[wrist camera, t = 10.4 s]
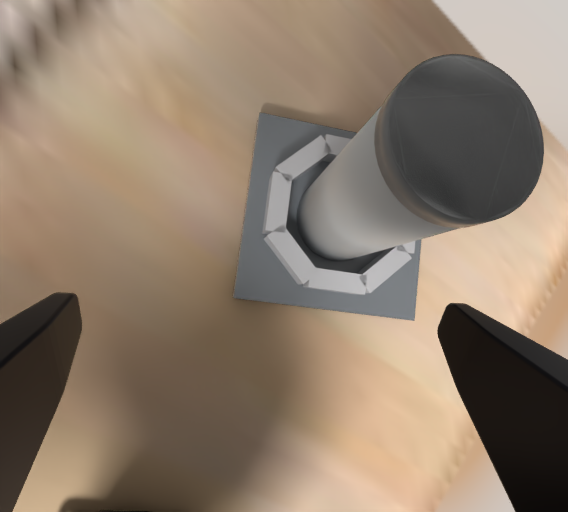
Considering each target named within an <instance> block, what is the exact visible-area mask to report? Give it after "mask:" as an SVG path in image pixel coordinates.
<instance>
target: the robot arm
mask: <svg viewBox="0 0 568 512" xmlns="http://www.w3.org/2000/svg"><path fill="white" fill-rule="evenodd" d="M81 331H82V319H81V313H80V308H79V302H78V297H77V295H76V294H74V293H60V292H58V293H54V294H52V295H50V296H48V297H47V298H45V299H43V300H41V301H40V302H38V303H36V304H34V305H33V306H31V307H29V308H28V309H26V310H24V311H22V312H21V313H19V314H17V315H15V316H14V317H12V318H10V319H8V320H7V321H5V322H3V323H1V324H0V512H12V511H13V509H14V507H15V504H16V502H17V500H18V497H19V495H20V493H21V490H22V488H23V486H24V483H25V481H26V479H27V476H28V474H29V472H30V469H31V467H32V465H33V462H34V460H35V458H36V455H37V453H38V451H39V449H40V446H41V444H42V442H43V439H44V437H45V435H46V432H47V430H48V428H49V425H50V423H51V421H52V418H53V416H54V414H55V411H56V409H57V407H58V404H59V402H60V400H61V397H62V395H63V392H64V389H65V386H66V382H67V379H68V376H69V372H70V369H71V365H72V362H73V359H74V355H75V352H76V348H77V345H78V342H79V338H80V335H81ZM438 338H439V341H440V344H441V346H442V349H443V352H444V355H445V358H446V360H447V363H448V366H449V369H450V372H451V374H452V377H453V380H454V382H455V385H456V388H457V390H458V392H459V394H460V397H461V399H462V401H463V403H464V405H465V407H466V409H467V411H468V413H469V415H470V418H471V420H472V422H473V424H474V426H475V428H476V430H477V432H478V434H479V436H480V439H481V441H482V443H483V445H484V447H485V449H486V451H487V453H488V455H489V457H490V459H491V462H492V463H493V466H494V468H495V470H496V472H497V474H498V476H499V478H500V480H501V482H502V484H503V487H504V489H505V491H506V493H507V495H508V497H509V499H510V501H511V503H512V505H513V508H514V510H515V512H568V360H567V359H566V358H564V357H562V356H560V355H558V354H556V353H555V352H553V351H551V350H549V349H547V348H545V347H544V346H542V345H540V344H538V343H536V342H535V341H533V340H531V339H529V338H527V337H525V336H524V335H522V334H520V333H518V332H516V331H514V330H513V329H511V328H509V327H507V326H505V325H504V324H502V323H500V322H498V321H496V320H494V319H493V318H491V317H489V316H487V315H485V314H483V313H482V312H480V311H478V310H476V309H474V308H472V307H471V306H469V305H467V304H464V303H450V304H448V305H447V307H446V309H445V311H444V314H443V316H442V319H441V321H440V324H439V326H438ZM98 512H147V511H114V510H100V511H98Z"/></svg>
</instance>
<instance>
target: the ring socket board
mask: <svg viewBox="0 0 568 512" xmlns="http://www.w3.org/2000/svg"><path fill="white" fill-rule="evenodd" d="M356 134H357V133H355V132H351V131H346V130H341V129H336V128H331V127H327V126H322V125H317V124H312V123H308V122H303V121H298V120H293V119H289V118H284V117H279V116H274V115H270V114H265V113H259V117H258V121H257V128H256V136H255V143H254V150H253V157H252V164H251V171H250V178H249V186H248V193H247V200H246V207H245V214H244V221H243V228H242V235H241V243H240V250H239V257H238V264H237V271H236V278H235V285H234V293H233V298H238V299H246V300H254V301H262V302H269V303H277V304H285V305H293V306H301V307H309V308H317V309H325V310H333V311H341V312H349V313H357V314H365V315H373V316H381V317H389V318H397V319H405V320H413V321H414V319H415V307H416V295H417V284H418V272H419V260H420V248H421V239H420V240H416V241H413V242H409V243H406V244H402V245H399V246H395V247H392V248H388V249H385V250H381V251H378V252H374V253H371V254H367V255H364V256H360V257H357V258H353V259H350V260H345V261H333V260H328V259H326V258H323V257H321V256H319V255H317V254H316V253H314V252H313V251H312V250H311V249H310V248H309V247H308V246H307V245H306V244H305V242H304V241H303V239H302V237H301V235H300V233H299V230H298V226H297V219H296V216H297V208H298V204H299V201H300V199H301V197H302V196H303V194H304V193H305V191H306V190H307V189H308V188H309V187H310V186H311V185H312V184H313V182H314V181H315V180H316V179H317V178H318V177H319V176H320V175H321V173H322V172H323V171H324V170H325V169H326V168H327V167H328V165H329V164H330V163H331V162H332V161H333V160H334V159H335V158H336V156H337V155H338V154H339V153H340V152H341V151H342V150H343V149H344V147H345V146H346V145H347V144H348V143H349V142H350V141H351V140H352V138H353V137H354V136H355V135H356Z"/></svg>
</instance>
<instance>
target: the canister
mask: <svg viewBox="0 0 568 512" xmlns="http://www.w3.org/2000/svg"><path fill="white" fill-rule="evenodd" d="M543 155H544V144H543V136H542V130H541V126H540V122H539V119H538V117H537V114H536V111H535V109H534V107H533V105H532V104H531V102H530V100H529V98H528V97H527V95H526V94H525V92H524V91H523V90H522V89H521V88H520V86H519V85H518V84H517V83H516V82H515V81H514V80H513V79H512V78H511V77H510V76H509V75H508V74H506V73H505V72H504V71H502V70H501V69H500V68H498V67H496V66H495V65H493V64H491V63H489V62H487V61H485V60H482V59H479V58H476V57H473V56H468V55H459V54H450V55H442V56H438V57H433V58H431V59H429V60H426V61H424V62H422V63H421V64H419V65H417V66H416V67H415V68H413V69H412V70H411V71H410V72H409V73H408V74H407V75H406V76H405V77H404V78H403V79H402V81H401V82H400V83H399V84H398V85H397V86H396V87H395V88H394V90H393V91H392V92H391V93H390V94H389V95H388V97H387V98H386V100H385V101H384V103H383V105H382V106H381V107H380V108H379V109H378V110H377V111H376V113H375V114H374V115H373V116H372V117H371V118H370V119H369V120H368V122H367V123H366V124H365V125H364V126H363V127H362V128H361V129H360V131H359V132H358V133H357V134H356V135H355V136H354V137H353V138H352V140H351V141H350V142H349V143H348V144H347V145H346V146H345V147H344V149H343V150H342V151H341V152H340V153H339V154H338V155H337V156H336V158H335V159H334V160H333V161H332V162H331V163H330V164H329V165H328V167H327V168H326V169H325V170H324V171H323V172H322V173H321V175H320V176H319V177H318V178H317V179H316V180H315V181H314V182H313V184H312V185H311V186H310V187H309V188H308V189H307V190H306V191H305V193H304V194H303V196H302V197H301V199H300V201H299V204H298V208H297V216H296V219H297V226H298V230H299V233H300V235H301V237H302V239H303V241H304V242H305V244H306V245H307V246H308V247H309V248H310V249H311V250H312V251H313V252H314V253H316V254H317V255H319V256H321V257H323V258H326V259H328V260H333V261H345V260H350V259H353V258H357V257H360V256H364V255H367V254H371V253H374V252H378V251H381V250H385V249H388V248H392V247H395V246H399V245H402V244H406V243H409V242H413V241H416V240H420V239H423V238H427V237H430V236H434V235H437V234H441V233H444V232H448V231H451V230H455V229H458V228H465V227H470V226H475V225H479V224H482V223H486V222H489V221H493V220H496V219H499V218H502V217H504V216H506V215H508V214H510V213H511V212H513V211H514V210H516V209H517V208H518V207H520V206H521V205H522V204H523V203H524V202H525V201H526V199H527V198H528V197H529V195H530V194H531V193H532V191H533V189H534V188H535V186H536V184H537V182H538V179H539V176H540V173H541V169H542V164H543Z"/></svg>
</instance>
